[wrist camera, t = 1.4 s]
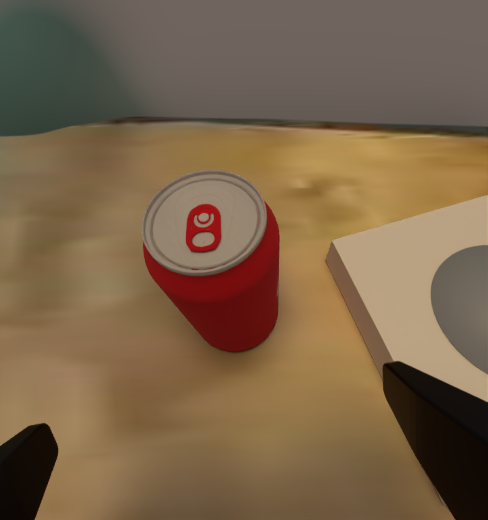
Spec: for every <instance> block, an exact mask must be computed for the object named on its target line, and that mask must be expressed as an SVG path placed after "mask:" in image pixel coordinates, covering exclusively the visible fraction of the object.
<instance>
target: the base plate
mask: <svg viewBox="0 0 488 520" xmlns="http://www.w3.org/2000/svg"><path fill="white" fill-rule="evenodd" d="M326 262H327V264H328V266H329V269H330V271H331V273H332V275H333V277H334V279H335V281H336V283H337V285H338V287H339V289H340V291H341V293H342V296H343V298H344V300H345V302H346V304H347V306H348V308H349V310H350V312H351V314H352V316H353V318H354V321H355V323H356V325H357V327H358V329H359V331H360V333H361V335H362V337H363V339H364V341H365V343H366V346H367V348H368V350H369V352H370V354H371V356H372V358H373V360H374V362H375V364H376V366H377V368H378V370H379V373H380V375H381V377H382V379H383V372H382V367H383V364H384V363H387V362H393V361H401V362H403V363H405V364H407V365H410V366H412V367H414V368H416V369H418V370H420V371H422V372H425V373H427V374H429V375H431V376H433V377H435V378H437V379H440V380H442V381H444V382H446V383H448V384H450V385H452V386H455V387H457V388H459V389H461V390H463V391H465V392H467V393H470V394H472V395H474V396H476V397H478V398H480V399H482V400H485V401H487V402H488V195H486V196H482V197H479V198H476V199H472V200H469V201H465V202H462V203H458V204H455V205H452V206H448V207H445V208H441V209H438V210H434V211H431V212H427V213H424V214H421V215H417V216H414V217H410V218H407V219H403V220H400V221H397V222H393V223H390V224H386V225H383V226H379V227H376V228H373V229H369V230H366V231H362V232H359V233H355V234H352V235H348V236H345V237H342V238H338V239H335V240H332V241H331V245H330V248H329V251H328V254H327V257H326ZM435 489H436V488H435ZM436 491H437V490H436ZM437 493H438V491H437ZM438 495H439V493H438ZM439 497H440V500H441V502H442V504H443V505H445V506H446V504H445V502H444V501H443V499H442V498H441V496H440V495H439Z"/></svg>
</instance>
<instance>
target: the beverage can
mask: <svg viewBox="0 0 488 520" xmlns="http://www.w3.org/2000/svg"><path fill="white" fill-rule="evenodd" d="M142 237H143V251H144V258H145V263H146V266H147V268H148V271H149V273H150V275H151V276H152V278H153V279H154V281H155V282H156V283H157V284H158V285H159V287H160V288H161V289H162V290H163V291H164V292H165V294H166V295H167V296H168V297H169V298H170V300H171V301H172V302H173V303H174V304H175V305H176V307H177V308H178V309H179V310H180V311H181V312H182V314H183V315H184V316H185V317H186V318H187V320H188V321H189V322H190V323H191V324H192V325H193V327H194V328H195V329H196V330H197V331H198V333H199V334H200V335H201V336H202V337H203V338H204V339H205V340H206V341H207V342H208V343H209V344H211V345H212V346H214V347H216V348H218V349H221V350H224V351H231V352H238V351H244V350H248V349H250V348H253V347H255V346H257V345H258V344H260V343H261V342H262V341H263V340H265V339H266V338H267V336H268V335H269V334H270V333H271V331H272V330H273V328H274V326H275V323H276V320H277V316H278V287H279V240H280V239H279V229H278V224H277V221H276V219H275V216H274V214H273V212H272V210H271V209H270V207H269V206H268V205H267V203H266V202H265V201H264V199H263V197H262V195H261V194H260V192H259V191H258V189H257V188H256V187H255V186H254V185H253V184H252V183H251V182H249V181H248V180H246V179H245V178H243V177H242V176H239V175H237V174H234V173H231V172H227V171H221V170H203V171H197V172H192V173H189V174H186V175H183V176H181V177H179V178H177V179H175V180H173V181H171V182H170V183H168V184H167V185H165V186H164V187H163V188H162V189H160V190H159V191H158V192H157V193H156V194H155V196H154V197H153V198H152V199H151V201H150V202H149V204H148V206H147V208H146V210H145V213H144V216H143V220H142Z"/></svg>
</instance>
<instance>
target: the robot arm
mask: <svg viewBox="0 0 488 520" xmlns="http://www.w3.org/2000/svg"><path fill="white" fill-rule="evenodd" d="M382 372H383V390H384V394H385V397H386V399H387V401H388V403H389V405H390V407H391V409H392V411H393V413H394V415H395V417H396V419H397V421H398V423H399V425H400V427H401V429H402V431H403V433H404V435H405V437H406V439H407V441H408V443H409V445H410V447H411V448H412V450H413V452H414V454H415V456H416V458H417V459H418V461H419V463H420V464H421V466H422V468H423V469H424V471H425V472H426V474H427V476H428V477H429V479H430V480H431V482H432V483H433V485H434V487H435V488H436V490H437V491H438V493H439V495H440V496H441V498H442V499H443V501H444V502H445V504H446V506H447V507H448V509H449V510H450V512H451V513H452V515H453V517H454V518H455V520H488V402H487V401H485V400H482V399H480V398H478V397H476V396H474V395H472V394H470V393H467V392H465V391H463V390H461V389H459V388H457V387H455V386H452V385H450V384H448V383H446V382H444V381H442V380H440V379H437V378H435V377H433V376H431V375H429V374H427V373H425V372H422V371H420V370H418V369H416V368H414V367H412V366H410V365H407V364H405V363H403V362H401V361H393V362H387V363H384V364H383V367H382ZM57 456H58V445H57V443H56V440H55V438H54V436H53V434H52V431H51V429H50V427H49V425H47V424H45V423H41V424H36V425H31V426H28V427H27V428H25V429H24V430H22V431H21V432H19V433H18V434H17V435H15V436H14V437H12V438H11V439H10V440H8V441H7V442H5V443H4V444H2V445H1V446H0V520H35V517H36V515H37V512H38V509H39V507H40V504H41V501H42V498H43V496H44V493H45V490H46V487H47V484H48V482H49V479H50V476H51V473H52V471H53V468H54V465H55V462H56V460H57Z"/></svg>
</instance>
